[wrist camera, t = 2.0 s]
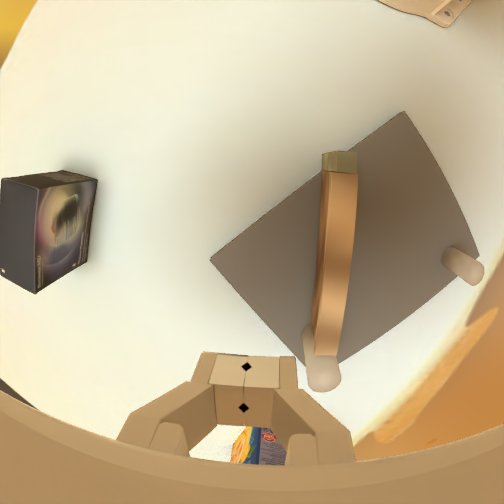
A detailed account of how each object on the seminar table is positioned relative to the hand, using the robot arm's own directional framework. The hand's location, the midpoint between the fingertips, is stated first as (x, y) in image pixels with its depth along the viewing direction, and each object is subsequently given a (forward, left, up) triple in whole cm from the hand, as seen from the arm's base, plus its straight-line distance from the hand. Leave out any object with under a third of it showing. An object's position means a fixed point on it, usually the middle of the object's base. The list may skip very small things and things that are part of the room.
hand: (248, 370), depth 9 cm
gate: (-4, +4, -20) cm, 21 cm away
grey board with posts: (-6, +8, -21) cm, 23 cm away
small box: (+17, -16, -21) cm, 31 cm away
